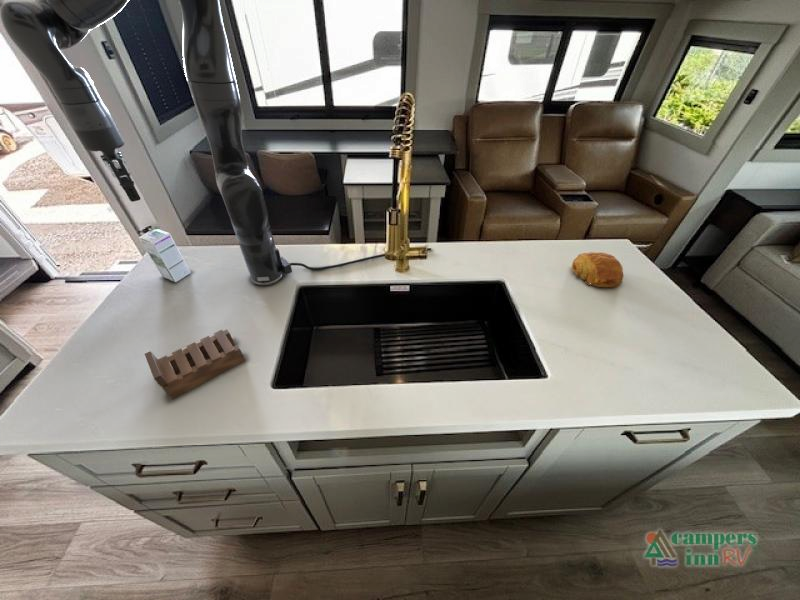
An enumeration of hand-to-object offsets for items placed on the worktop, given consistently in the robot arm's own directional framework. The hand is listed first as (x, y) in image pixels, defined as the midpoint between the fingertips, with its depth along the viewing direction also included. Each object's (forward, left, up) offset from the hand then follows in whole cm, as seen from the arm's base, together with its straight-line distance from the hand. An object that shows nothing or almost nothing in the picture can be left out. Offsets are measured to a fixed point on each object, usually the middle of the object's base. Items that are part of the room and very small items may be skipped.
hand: (132, 194), depth 82 cm
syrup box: (0, 0, -26) cm, 26 cm away
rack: (+5, +41, -26) cm, 49 cm away
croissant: (-103, +85, -26) cm, 136 cm away
